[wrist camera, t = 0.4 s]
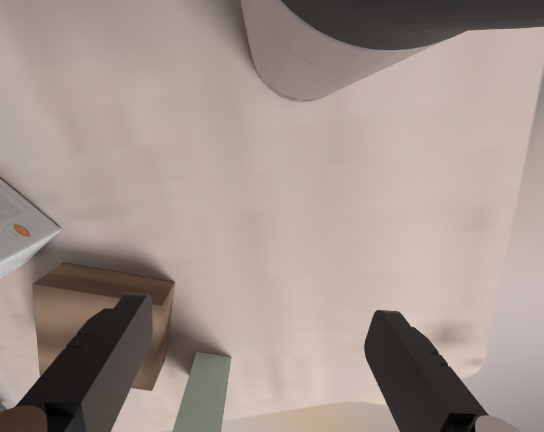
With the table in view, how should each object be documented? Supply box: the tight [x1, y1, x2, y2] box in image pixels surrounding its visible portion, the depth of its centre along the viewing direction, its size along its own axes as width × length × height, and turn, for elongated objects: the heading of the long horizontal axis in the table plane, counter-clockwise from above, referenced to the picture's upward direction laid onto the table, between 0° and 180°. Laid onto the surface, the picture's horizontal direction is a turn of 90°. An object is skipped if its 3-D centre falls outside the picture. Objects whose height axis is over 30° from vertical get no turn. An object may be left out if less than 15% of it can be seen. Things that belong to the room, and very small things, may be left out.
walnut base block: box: [33, 263, 175, 391], centre depth 29 cm, size 12×12×4 cm
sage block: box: [173, 352, 231, 432], centre depth 29 cm, size 4×4×11 cm
